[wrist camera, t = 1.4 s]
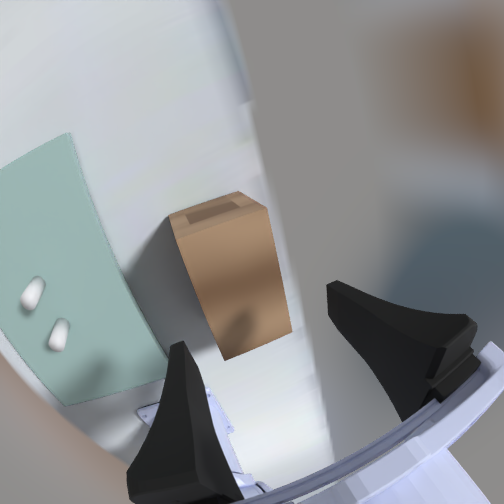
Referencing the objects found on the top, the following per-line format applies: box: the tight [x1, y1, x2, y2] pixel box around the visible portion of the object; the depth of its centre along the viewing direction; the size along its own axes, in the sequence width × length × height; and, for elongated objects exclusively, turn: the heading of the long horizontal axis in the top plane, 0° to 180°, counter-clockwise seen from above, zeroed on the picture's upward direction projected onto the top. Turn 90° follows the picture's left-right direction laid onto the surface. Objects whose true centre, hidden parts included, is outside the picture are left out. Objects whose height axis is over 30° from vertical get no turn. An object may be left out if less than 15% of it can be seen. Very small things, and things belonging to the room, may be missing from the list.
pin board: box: [0, 133, 168, 406], centre depth 16 cm, size 20×12×4 cm, turn 14°
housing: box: [168, 191, 292, 361], centre depth 19 cm, size 9×5×5 cm, turn 14°
